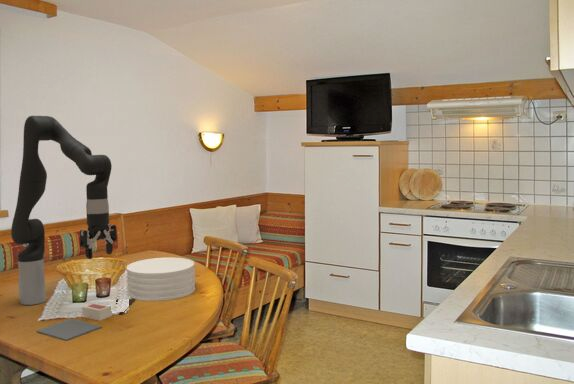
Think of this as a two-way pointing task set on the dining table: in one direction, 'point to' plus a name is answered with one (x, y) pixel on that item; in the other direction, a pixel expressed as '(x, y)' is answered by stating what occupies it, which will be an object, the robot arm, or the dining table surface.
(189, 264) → the plate stack
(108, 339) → the dining table surface
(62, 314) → the dining table surface
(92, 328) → the mat
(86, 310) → the card box
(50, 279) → the dining table surface
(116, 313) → the chocolate bar
